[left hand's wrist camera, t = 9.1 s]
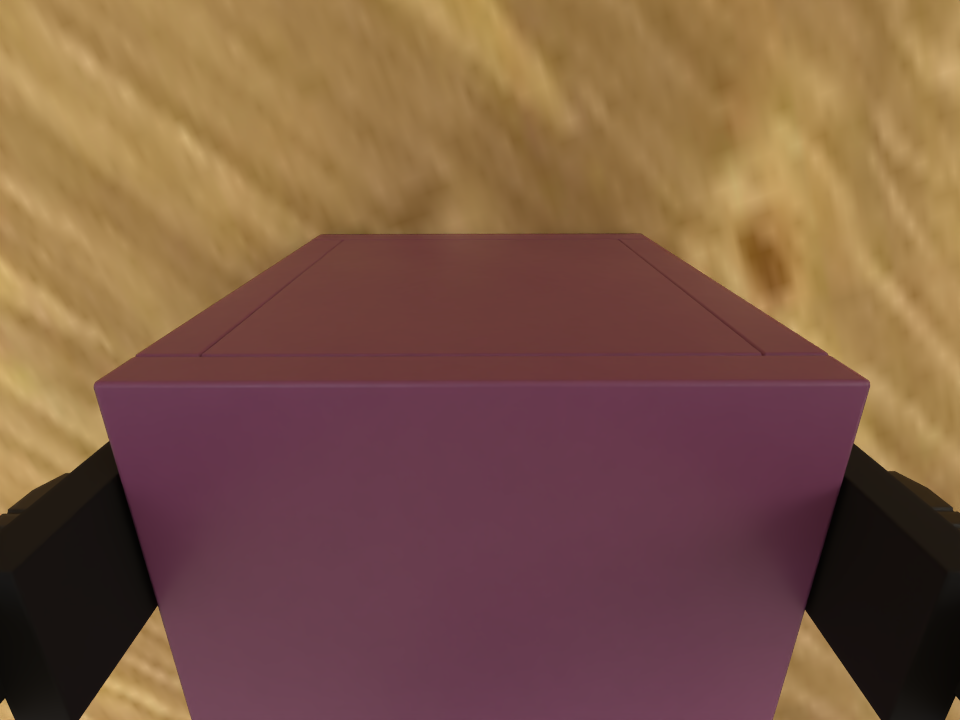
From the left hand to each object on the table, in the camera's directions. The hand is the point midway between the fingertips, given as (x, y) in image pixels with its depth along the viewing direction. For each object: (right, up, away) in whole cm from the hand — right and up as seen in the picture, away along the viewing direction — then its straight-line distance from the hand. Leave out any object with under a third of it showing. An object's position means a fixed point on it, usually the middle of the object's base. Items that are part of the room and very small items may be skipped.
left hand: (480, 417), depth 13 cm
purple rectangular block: (0, -3, +9) cm, 10 cm away
